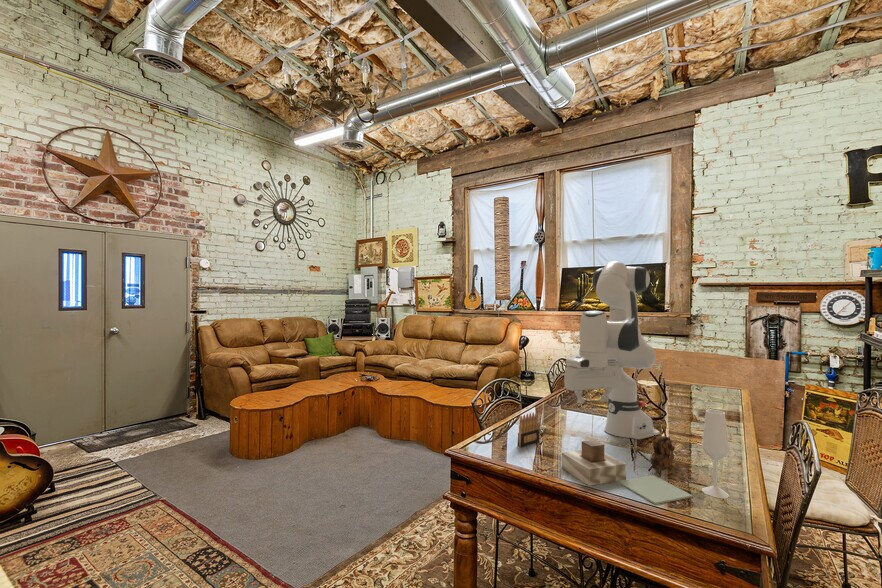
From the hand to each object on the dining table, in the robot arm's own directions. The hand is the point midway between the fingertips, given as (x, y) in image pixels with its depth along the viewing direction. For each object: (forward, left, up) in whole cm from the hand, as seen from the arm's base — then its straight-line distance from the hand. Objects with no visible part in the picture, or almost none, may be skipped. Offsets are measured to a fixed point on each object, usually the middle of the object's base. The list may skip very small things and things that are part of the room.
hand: (593, 402), depth 133 cm
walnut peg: (0, 0, -23) cm, 23 cm away
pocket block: (0, 0, -23) cm, 23 cm away
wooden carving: (-27, +3, -24) cm, 36 cm away
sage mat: (-10, +15, -23) cm, 29 cm away
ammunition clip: (+6, -30, -24) cm, 39 cm away
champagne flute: (-26, +22, -24) cm, 41 cm away
